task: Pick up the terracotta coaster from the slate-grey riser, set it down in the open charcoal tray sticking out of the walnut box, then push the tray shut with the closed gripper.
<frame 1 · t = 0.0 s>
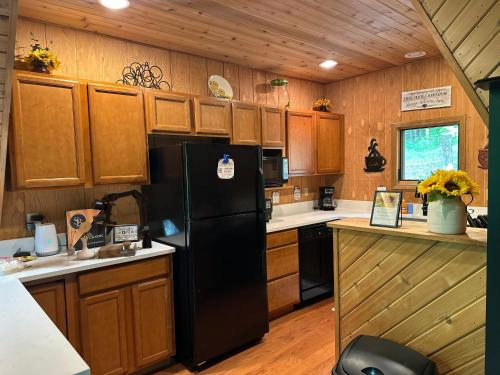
hand: (102, 234, 226), 15 cm above the counter, tool pointing down, fingers open, 9 cm apart
riser: (127, 249, 249), on the counter
housing: (111, 255, 234), on the counter
coaster: (126, 245, 248), point 3 cm above the counter, touching riser
tray: (125, 249, 236), point 3 cm above the counter, slide at 8.0 cm
reed diffuser: (72, 254, 239), on the counter
flower in vase: (86, 258, 228), on the counter
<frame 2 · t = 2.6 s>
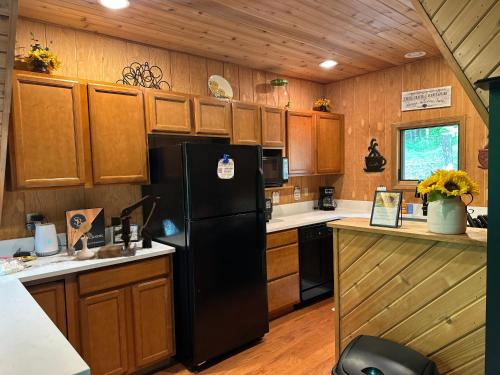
hand: (127, 246, 249), 3 cm above the counter, tool pointing down, fingers closed on coaster, 6 cm apart
coaster: (126, 245, 248), point 3 cm above the counter, touching gripper, riser
everything else where it was.
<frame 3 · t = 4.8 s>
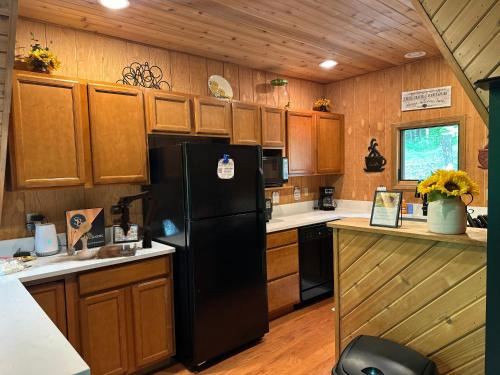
hand: (126, 235, 241), 12 cm above the counter, tool pointing down, fingers closed on coaster, 6 cm apart
coaster: (126, 234, 241), point 13 cm above the counter, touching gripper
everything else where it was.
when the fingers open (3 cm above the counter, at t = 7.1 s): coaster drops 3 cm, resting on tray.
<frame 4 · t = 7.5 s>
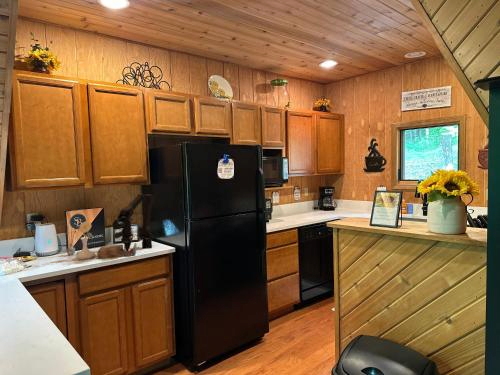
hand: (128, 249, 236), 3 cm above the counter, tool pointing down, fingers open, 9 cm apart
coaster: (127, 252, 237), point 1 cm above the counter, touching tray
tray: (125, 249, 236), point 3 cm above the counter, slide at 8.0 cm, touching coaster
everything else where it was.
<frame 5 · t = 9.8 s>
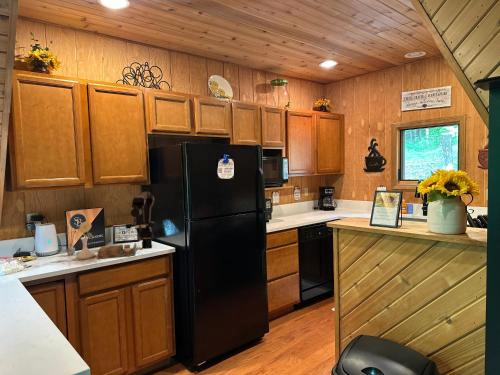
hand: (140, 237, 238), 11 cm above the counter, tool pointing down, fingers closed
nothing on the counter moved.
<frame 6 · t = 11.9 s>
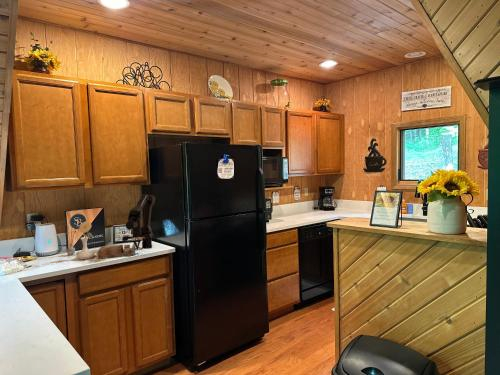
hand: (137, 249, 238), 3 cm above the counter, tool pointing down, fingers closed
tray: (124, 249, 236), point 3 cm above the counter, slide at 7.2 cm, touching coaster, gripper
everything else where it was.
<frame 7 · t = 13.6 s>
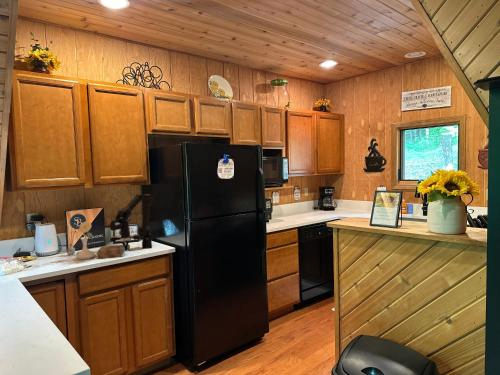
hand: (126, 250, 236), 3 cm above the counter, tool pointing down, fingers closed
coaster: (115, 253, 235), point 1 cm above the counter, touching tray
tray: (112, 250, 234), point 3 cm above the counter, slide at -0.1 cm, touching coaster, gripper
everything else where it was.
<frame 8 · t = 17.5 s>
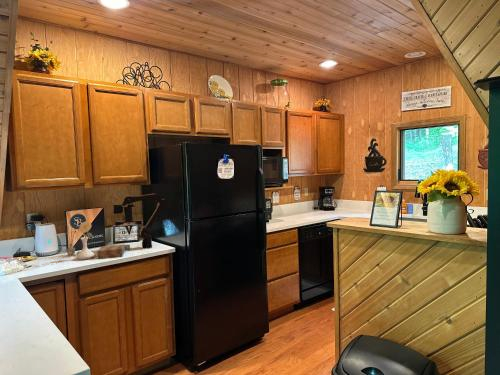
hand: (129, 234, 249), 11 cm above the counter, tool pointing down, fingers closed
tray: (112, 250, 234), point 3 cm above the counter, slide at 0.0 cm, touching coaster
everything else where it was.
at the end: tray slide at 0.0 cm; coaster inside the target area on the housing (2.4 cm from its centre), point 1.3 cm above the housing's base; coaster tilted 0° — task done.
